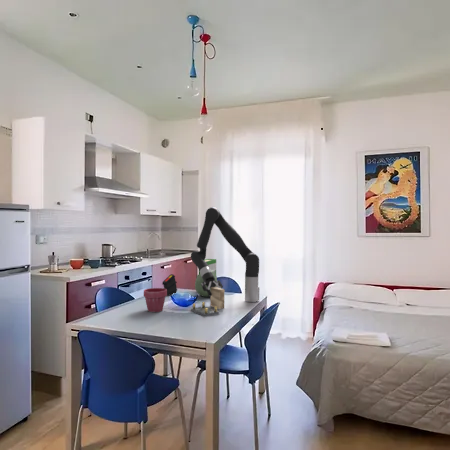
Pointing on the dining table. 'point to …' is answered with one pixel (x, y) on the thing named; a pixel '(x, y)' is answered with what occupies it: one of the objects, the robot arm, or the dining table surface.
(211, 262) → the hardback book
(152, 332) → the dining table surface
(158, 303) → the plant pot
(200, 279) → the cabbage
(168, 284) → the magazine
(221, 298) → the panel
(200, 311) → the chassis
